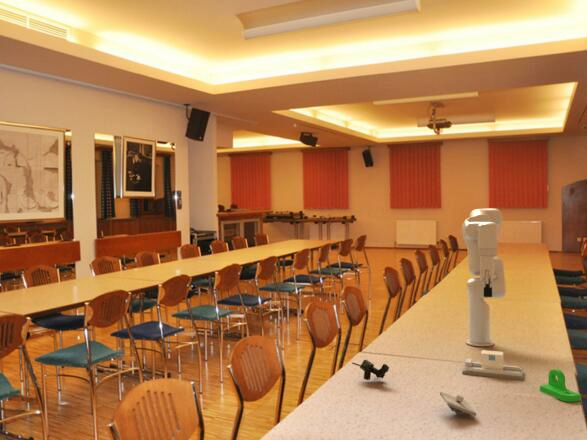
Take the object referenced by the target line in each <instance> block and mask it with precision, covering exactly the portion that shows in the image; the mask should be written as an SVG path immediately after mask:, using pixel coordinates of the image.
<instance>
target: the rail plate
mask: <svg viewBox="0 0 587 440" xmlns="http://www.w3.org/2000/svg"><path fill="white" fill-rule="evenodd" d="M461 372H462V374H463V375H471V376H479V377H480V376H481V377H487V378H488V377H490V378H497V379H505V380H506V379H507V380H518V381H523V380H524V378H523V376H524V374H523V372H524V371H523V369H522V368H521V367H520V366H517V365H516V366H515V365H504V364H503V371H501V370H492V369H482V368H481V362H477V361H476V362H475V361H473V358H471V357H470V358H469V357H467V358H466V360H465V364H464V365H463V367H462V370H461Z"/></svg>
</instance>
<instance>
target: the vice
mask: <svg viewBox="0 0 587 440" xmlns="http://www.w3.org/2000/svg"><path fill="white" fill-rule="evenodd" d="M351 364H352V365H355V366H358V367H359V368H360V369H361V370H362V371H363V380H366V381H370V380H371V375H372V374H374V375H375V376H376V378H381V379H382V380H383V379H384V378H385V376H386V373H388V372H389V369H390V366H388V364H386V363H383V364H382V366H381V367H380V369H378V368H377V367H374V366H375V364H374V363H372V362H371V361H369V359H363V361H362V363H361V364H358V363H355V362H352V363H351Z"/></svg>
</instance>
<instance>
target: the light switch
mask: <svg viewBox="0 0 587 440" xmlns="http://www.w3.org/2000/svg"><path fill="white" fill-rule="evenodd" d="M439 396H440V397H441V398H442V399H443V401H444V402H445V403H446V405H447V407H448V408H449V409H450V410H451V411H452V412H454V413H455V414H457V415H462V414H463V413H466V414H469V415H472V416H474V417H476V416H477V412H476V411H475V410H474V408H472V406H471V404H469V403H468V401H466V400H464V399H465V397H464V396H462V395H461V394H456V396H453V395H450V394H447V393H445V392H442V391H440V392H439Z"/></svg>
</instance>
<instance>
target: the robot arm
mask: <svg viewBox="0 0 587 440" xmlns="http://www.w3.org/2000/svg"><path fill="white" fill-rule="evenodd" d="M502 224H503V214H502V212H501V210H500V209H498V208H476V209H473V210H472V211H471V212H470V214H469V217H467V218H466V219H465V220H464V222H463V223H462V225H461V234H462V239H463V242H464V243H465V246H466V249H467V262H468V271H469V273H470V275H471V276H474V277H472V278H469V279H468V280H467V282H466V292H467V299H468V338H466V339H465V343H466V345H469V346H472V347H473V346H474V347H492V346H493V345H494V341H493V340H491V317H490V316H491V312H490V311H491V309H490V305H489V303H488V302H486V300H485V299H502V298H504V297H505V296H506V292H507V289H506V278H505V277H506V276H505V268H504V262H503V260H502V258H501V257H499V256H498V236H499V235H500V232H501V228H502Z"/></svg>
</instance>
